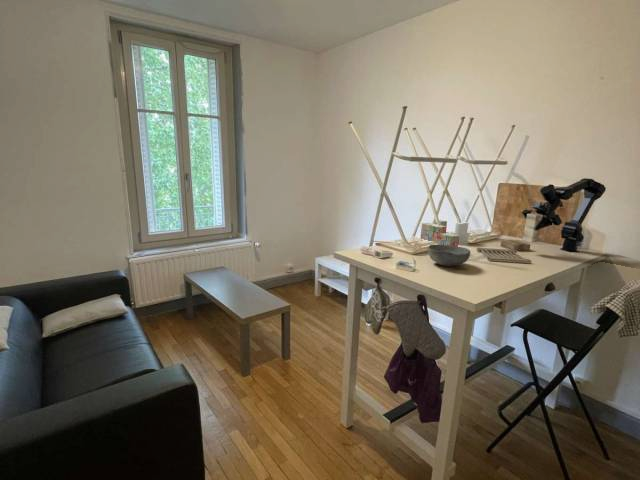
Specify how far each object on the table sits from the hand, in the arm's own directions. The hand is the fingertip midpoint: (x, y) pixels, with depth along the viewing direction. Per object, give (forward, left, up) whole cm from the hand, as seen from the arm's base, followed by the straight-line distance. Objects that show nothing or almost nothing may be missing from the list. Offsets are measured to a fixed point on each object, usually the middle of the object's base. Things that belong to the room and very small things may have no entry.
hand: (530, 228), depth 174 cm
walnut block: (-2, -11, -14) cm, 18 cm away
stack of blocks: (+43, -14, -14) cm, 47 cm away
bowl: (+55, +15, -14) cm, 58 cm away
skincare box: (+33, -31, -14) cm, 47 cm away
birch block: (-1, 0, -7) cm, 7 cm away
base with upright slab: (+23, -25, -14) cm, 36 cm away
